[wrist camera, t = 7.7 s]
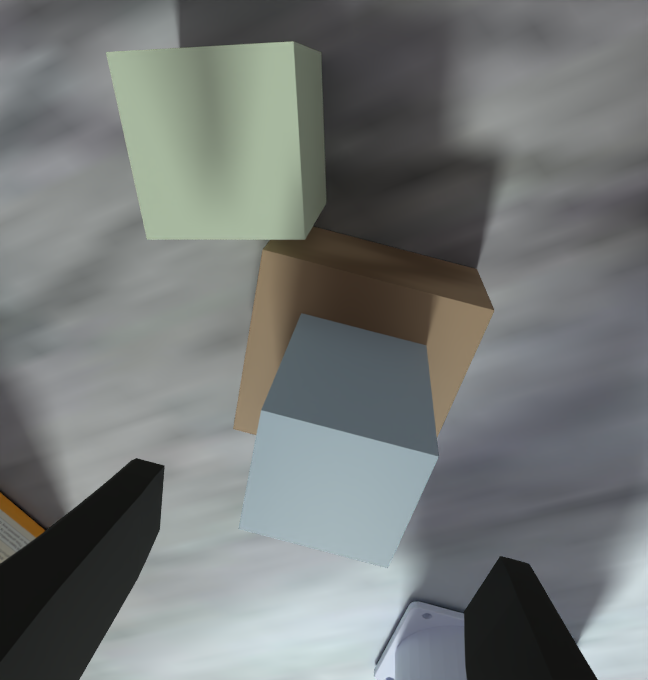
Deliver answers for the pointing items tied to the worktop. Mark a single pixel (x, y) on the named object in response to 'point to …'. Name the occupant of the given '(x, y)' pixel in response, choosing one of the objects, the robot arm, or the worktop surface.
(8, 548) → the supplement box
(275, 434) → the slate block
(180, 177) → the sage block
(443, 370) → the walnut pedestal
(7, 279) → the worktop surface
